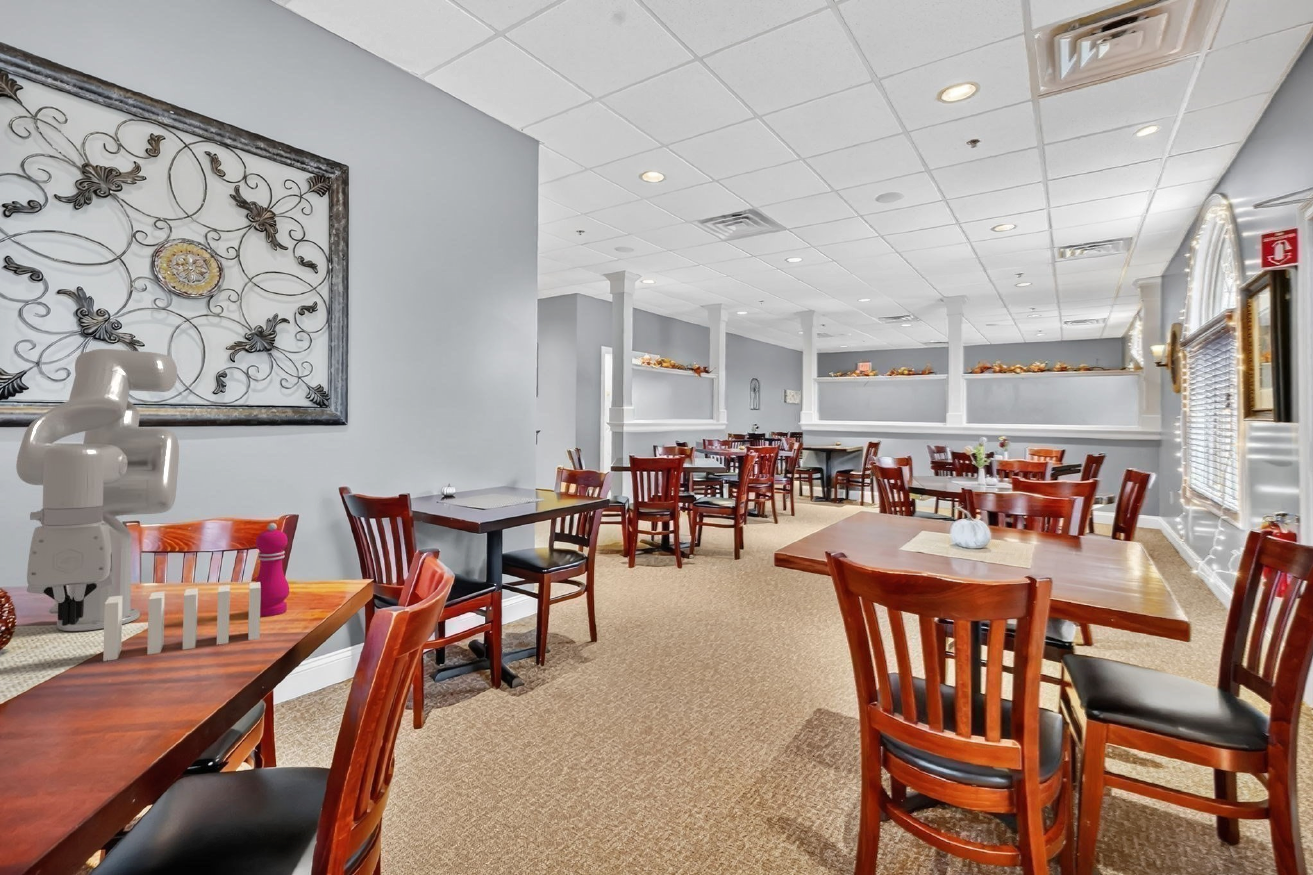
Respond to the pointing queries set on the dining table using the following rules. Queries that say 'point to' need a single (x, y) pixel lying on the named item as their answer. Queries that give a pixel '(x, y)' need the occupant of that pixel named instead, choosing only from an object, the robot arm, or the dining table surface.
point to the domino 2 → (190, 618)
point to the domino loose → (112, 628)
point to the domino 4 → (254, 611)
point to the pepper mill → (272, 571)
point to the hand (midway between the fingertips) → (70, 622)
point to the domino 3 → (223, 614)
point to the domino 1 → (156, 622)
